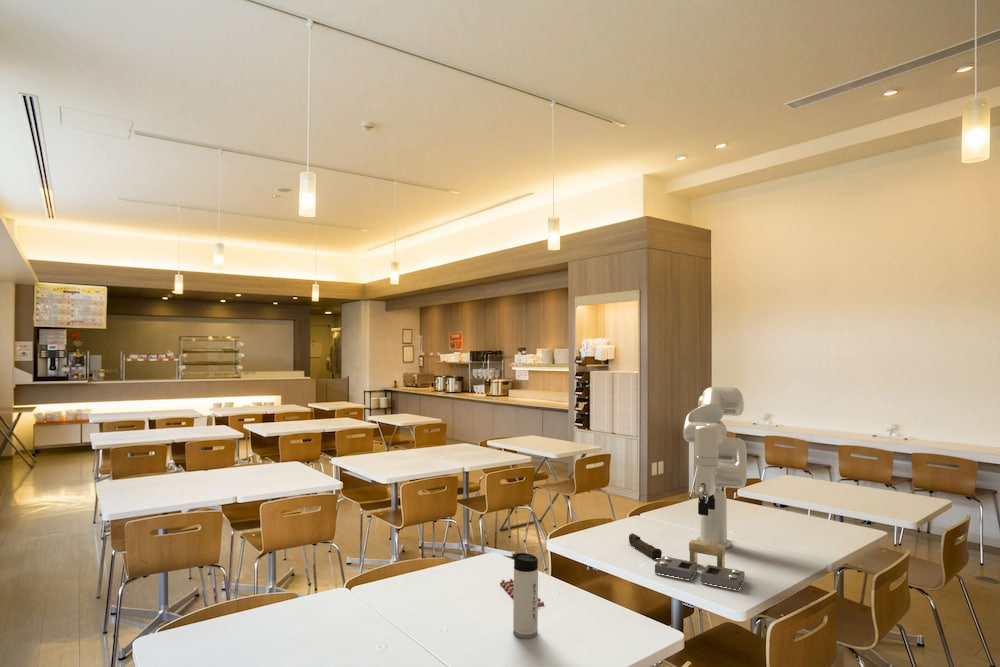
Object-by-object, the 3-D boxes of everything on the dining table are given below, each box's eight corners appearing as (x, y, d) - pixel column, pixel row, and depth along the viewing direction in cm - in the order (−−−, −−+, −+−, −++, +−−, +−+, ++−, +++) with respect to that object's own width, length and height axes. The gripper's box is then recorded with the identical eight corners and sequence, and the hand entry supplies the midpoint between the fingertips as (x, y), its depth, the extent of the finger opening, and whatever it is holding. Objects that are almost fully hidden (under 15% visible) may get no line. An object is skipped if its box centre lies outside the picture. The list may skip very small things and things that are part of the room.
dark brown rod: (662, 560, 209) (662, 546, 209) (652, 561, 208) (652, 547, 208) (635, 543, 227) (636, 531, 228) (626, 544, 226) (626, 532, 226)
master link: (692, 562, 206) (692, 539, 206) (725, 569, 200) (725, 545, 200) (689, 566, 203) (689, 542, 203) (722, 572, 197) (722, 548, 197)
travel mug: (510, 628, 155) (511, 550, 156) (535, 627, 155) (536, 550, 156) (513, 639, 149) (513, 559, 149) (539, 638, 149) (539, 558, 150)
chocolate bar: (521, 611, 167) (521, 604, 167) (499, 586, 185) (500, 580, 185) (544, 608, 169) (544, 601, 169) (521, 583, 187) (521, 577, 187)
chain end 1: (663, 565, 203) (663, 554, 203) (697, 571, 197) (697, 560, 197) (654, 574, 195) (654, 563, 195) (689, 581, 189) (689, 569, 189)
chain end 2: (738, 591, 181) (738, 579, 181) (700, 583, 187) (700, 571, 187) (744, 581, 189) (744, 569, 189) (708, 573, 195) (708, 562, 195)
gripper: (701, 457, 212) (701, 505, 211) (688, 463, 197) (688, 515, 196) (723, 459, 208) (723, 508, 207) (712, 466, 193) (712, 519, 192)
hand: (706, 511), depth 202 cm, fingers open, 9 cm apart
